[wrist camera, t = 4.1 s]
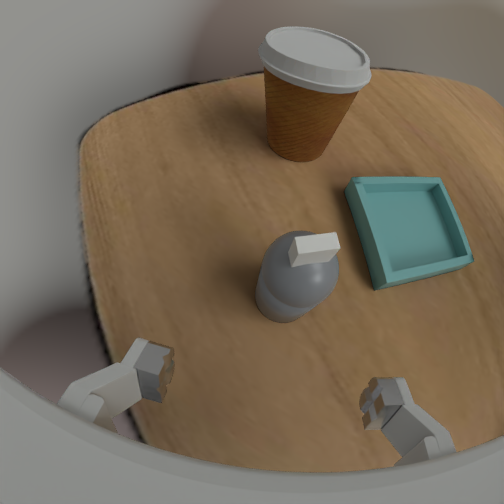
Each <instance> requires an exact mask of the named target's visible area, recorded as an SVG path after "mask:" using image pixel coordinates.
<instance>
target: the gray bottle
mask: <svg viewBox="0 0 504 504" xmlns="http://www.w3.org/2000/svg"><path fill="white" fill-rule="evenodd" d="M339 250H340V244H339V241H338V237H337V234H336V232H334V233H325V234H315V233H312V232H308V231H293V232H289V233H286V234H284V235H282V236H280V237H279V238H277V239H276V240H275V241H274V242H273V243H272V244H271V245H270V246H269V248H268V249H267V251H266V253H265V255H264V258H263V262H262V266H261V270H260V274H259V278H258V282H257V286H256V291H255V300H256V304H257V306H258V308H259V310H260V311H261V313H262V314H263V315H264V316H266V317H267V318H268V319H270V320H272V321H275V322H279V323H288V322H292V321H294V320H296V319H298V318H300V317H301V316H303V315H304V314H305V313H307V312H308V311H310V310H311V309H312V308H314V307H315V306H317V305H318V304H319V303H321V302H322V301H323V300H325V299H326V298H327V297H328V296H329V295H330V294H331V292H332V291H333V289H334V287H335V285H336V283H337V280H338V275H339V263H338V259H337V256H336V253H337V252H338V251H339Z"/></svg>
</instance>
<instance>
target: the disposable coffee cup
mask: <svg viewBox="0 0 504 504" xmlns="http://www.w3.org/2000/svg"><path fill="white" fill-rule="evenodd" d="M258 52H259V57H260V58H261V60H262V64H263V65H264V77H265V78H264V81H265V98H266V117H267V139H268V143H269V145H270V147H271V148H272V150H273V151H275V152H276V153H277V154H278V155H280V156H282V157H284V158H286V159H289V160H292V161H297V162H306V161H312V160H314V159H316V158H318V157H319V156H321V155H322V153H323V151H324V150H325V148H326V146H327V145H328V143H329V141H330V140H331V138H332V136H333V134H334V133H335V131H336V129H337V127H338V126H339V124H340V123H341V121H342V119H343V118H344V116H345V114H346V112H347V111H348V109H349V107H350V105H351V104H352V102H353V100H354V98H355V97H356V95H357V93H358V92H359V90H360V89H362V88H363V87H364V86H365V85H366V84H368V83H369V81H370V79H371V71H370V69H369V68H370V59H369V57H368V56H367V54H366V53H365V52H364V51H363V50H362V49H361V48H360V47H359V46H357V45H356V44H354V43H352V42H351V41H349V40H347V39H345V38H343V37H340V36H338V35H336V34H333V33H330V32H326V31H323V30H319V29H313V28H307V27H282V28H277V29H275V30H272V31H270V32H269V33H268V34H267V36H266V37H265V40H264V42H263V43H262V44H261V45H260V46H259V50H258Z"/></svg>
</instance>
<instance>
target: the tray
mask: <svg viewBox="0 0 504 504" xmlns="http://www.w3.org/2000/svg"><path fill="white" fill-rule="evenodd" d="M344 193H345V196H346V199H347V201H348V204H349V207H350V210H351V213H352V216H353V219H354V222H355V225H356V228H357V231H358V235H359V238H360V241H361V244H362V248H363V251H364V255H365V258H366V261H367V265H368V269H369V272H370V276H371V280H372V284H373V288H374V291H375V290H379V289H384V288H388V287H392V286H397V285H401V284H405V283H409V282H413V281H417V280H421V279H425V278H429V277H433V276H437V275H441V274H444V273H448V272H452V271H455V270H459V269H461V268H463V267H465V266H467V265H469V264H470V263H472V262H474V258H473V255H472V252H471V249H470V247H469V244H468V241H467V238H466V235H465V233H464V230H463V227H462V225H461V222H460V220H459V218H458V215H457V213H456V210H455V208H454V206H453V203H452V201H451V199H450V197H449V195H448V193H447V190H446V188H445V186H444V184H443V182H442V180H441V178H439V177H352V178H351V180H350V182H349V184H348V185H347V187H346V189H345V191H344Z"/></svg>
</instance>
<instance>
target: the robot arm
mask: <svg viewBox="0 0 504 504" xmlns="http://www.w3.org/2000/svg"><path fill="white" fill-rule="evenodd" d="M173 356H174V348H173V347H169V346H166V345H162V344H159V343H156V342H152V341H149V340H145V339H142V338H139V337H138V338H137V339H136V340H135V341H134V343H133V344H132V346H131V347H130V349H129V350H128V352H127V354H126V355H125V357H124V358H123V360H122V362H121V363H115V364H113V365H110V366H108V367H106V368H104V369H102V370H99V371H97V372H95V373H92V374H90V375H88V376H86V377H83V378H81V379H79V380H76V381H74V382H72V383H71V384H70V385H69V387H68V388H67V390H66V391H65V393H64V394H63V395H62V397H61V398H60V400H59V401H58V403H57V404H55V403H53V402H52V401H50V400H48V399H46V398H45V397H43V396H42V395H40V394H38V393H37V392H35V391H34V390H32V389H31V388H29V387H27V386H26V385H24V384H23V383H22V382H20V381H18V380H17V379H16V378H14V377H13V376H12V375H10V374H9V373H7V372H6V371H5V370H4V369H2V368H1V367H0V504H504V435H502V436H500V437H498V438H495V439H493V440H490V441H488V442H485V443H483V444H480V445H477V446H474V447H471V448H469V449H466V450H462V451H459V452H456V450H455V447H454V444H453V441H452V438H451V436H450V433H449V431H448V430H446V429H445V428H444V427H443V426H442V425H441V424H439V423H438V422H437V421H436V420H435V419H434V418H432V417H431V416H430V415H429V414H428V413H427V412H426V411H424V410H423V409H422V408H421V407H420V406H419V405H417V404H414V401H413V399H412V396H411V393H410V391H409V388H408V386H407V383H406V381H405V379H404V378H403V377H394V378H392V377H373V378H372V379H371V380H370V381H369V383H368V384H369V387H367V388H366V389H364V390H363V392H362V394H361V396H360V400H359V405H360V410H361V411H362V412H363V413H364V415H363V417H362V420H363V425H364V430H380V429H382V430H381V431H382V432H383V434H384V435H385V436H386V437H387V439H388V440H389V441H390V442H391V444H392V445H393V446H394V447H395V449H396V450H397V451H398V452H399V454H400V455H401V456H402V458H401V459H400V460H399V461H398V462H396V463H395V465H394V467H387V468H380V469H371V470H361V471H347V472H287V471H273V470H262V469H253V468H246V467H239V466H232V465H226V464H220V463H215V462H210V461H205V460H201V459H196V458H192V457H188V456H184V455H180V454H176V453H173V452H169V451H166V450H162V449H159V448H156V447H153V446H150V445H147V444H144V443H141V442H138V441H135V440H133V439H130V438H127V437H125V436H122V435H119V434H117V430H116V428H115V426H114V424H113V422H112V418H114V417H115V416H117V415H118V414H120V413H121V412H123V411H124V410H126V409H127V408H129V407H130V406H132V405H133V404H135V403H136V402H138V401H139V400H141V399H142V398H145V399H149V400H152V401H156V402H159V403H162V402H163V399H164V397H165V395H166V392H167V386H166V385H168V384H169V383H170V382H171V380H172V377H173V373H174V361H173V360H172V358H173Z"/></svg>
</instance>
